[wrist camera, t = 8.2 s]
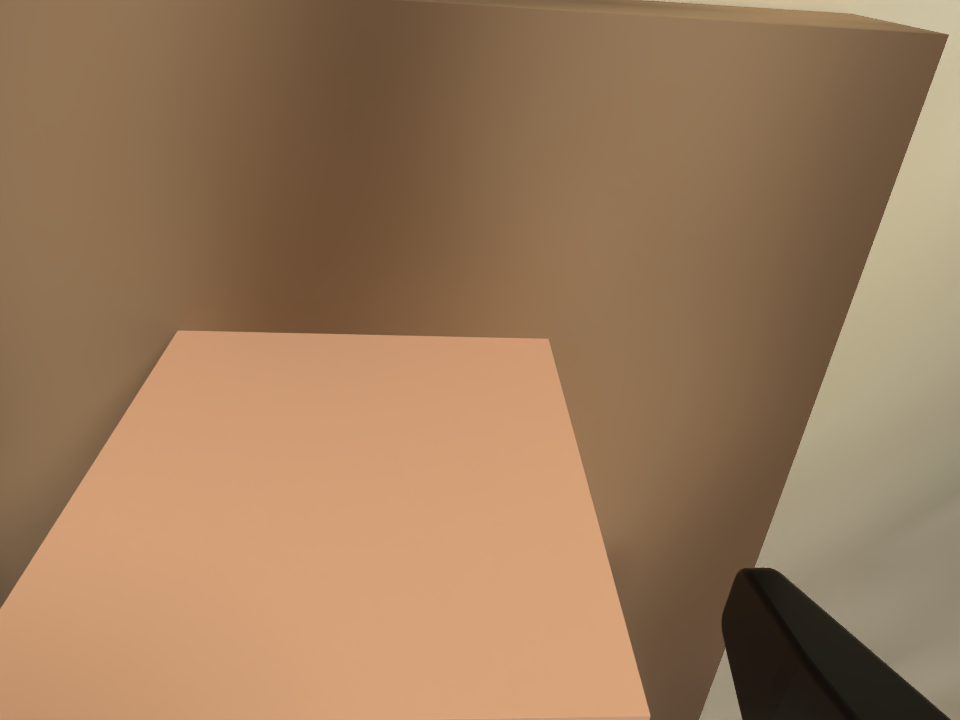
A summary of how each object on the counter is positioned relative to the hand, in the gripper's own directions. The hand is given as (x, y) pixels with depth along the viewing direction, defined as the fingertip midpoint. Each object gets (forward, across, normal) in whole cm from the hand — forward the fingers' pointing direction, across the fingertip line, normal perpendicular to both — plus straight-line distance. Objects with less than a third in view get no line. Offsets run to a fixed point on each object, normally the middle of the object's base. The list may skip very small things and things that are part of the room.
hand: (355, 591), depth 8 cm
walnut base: (+4, 0, 0) cm, 4 cm away
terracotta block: (+2, 0, 0) cm, 2 cm away
